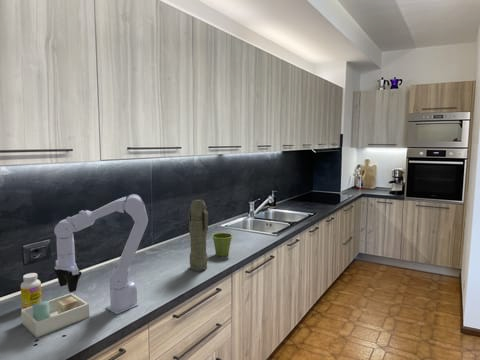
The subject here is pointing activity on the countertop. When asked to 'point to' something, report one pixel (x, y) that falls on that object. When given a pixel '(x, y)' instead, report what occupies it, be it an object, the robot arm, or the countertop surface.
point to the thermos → (198, 235)
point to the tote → (54, 316)
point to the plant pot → (222, 243)
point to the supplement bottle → (30, 290)
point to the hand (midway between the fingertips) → (67, 288)
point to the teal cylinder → (41, 310)
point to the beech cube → (67, 304)
